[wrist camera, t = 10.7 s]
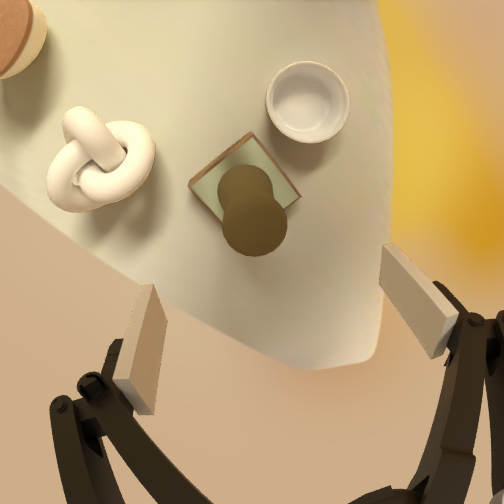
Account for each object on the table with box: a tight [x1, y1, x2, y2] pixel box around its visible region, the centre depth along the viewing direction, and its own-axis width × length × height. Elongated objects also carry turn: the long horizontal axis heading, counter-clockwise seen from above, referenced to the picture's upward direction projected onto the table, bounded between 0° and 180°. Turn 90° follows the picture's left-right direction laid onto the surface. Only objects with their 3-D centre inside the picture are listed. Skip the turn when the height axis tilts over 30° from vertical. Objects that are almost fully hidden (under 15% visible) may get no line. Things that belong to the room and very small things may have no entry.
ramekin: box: [266, 61, 350, 144], centre depth 29 cm, size 9×9×4 cm
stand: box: [188, 132, 302, 224], centre depth 34 cm, size 9×9×3 cm
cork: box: [217, 164, 287, 257], centre depth 28 cm, size 6×6×11 cm
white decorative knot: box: [46, 106, 156, 213], centre depth 28 cm, size 11×12×9 cm
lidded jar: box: [0, 0, 47, 80], centre depth 18 cm, size 11×11×9 cm
